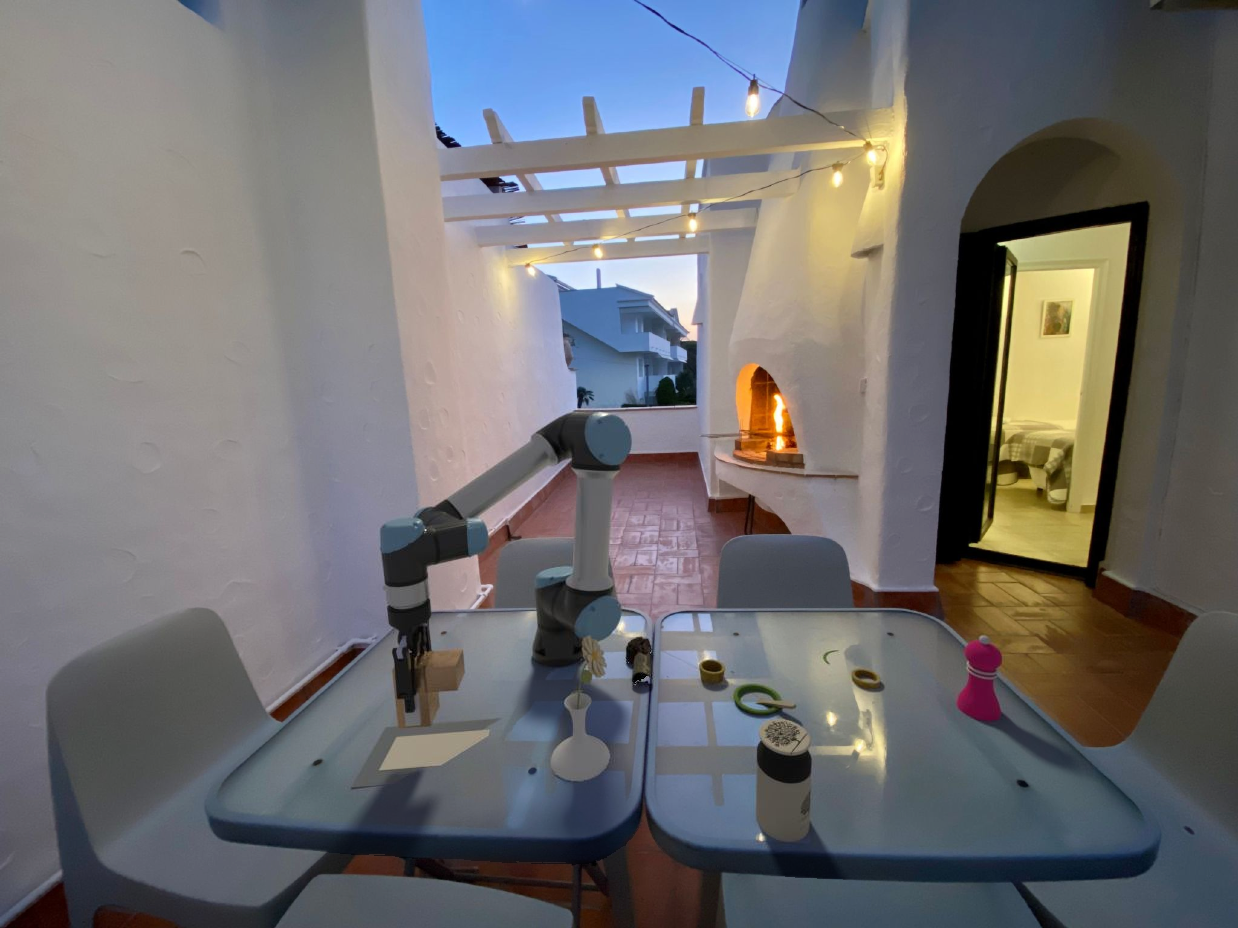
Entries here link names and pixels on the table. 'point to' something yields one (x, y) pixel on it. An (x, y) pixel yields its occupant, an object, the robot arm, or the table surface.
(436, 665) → the wooden l-shaped block
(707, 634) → the table surface
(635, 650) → the brown olive knobbed cylinder
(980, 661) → the pepper mill
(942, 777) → the table surface
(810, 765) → the travel mug
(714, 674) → the tableware set
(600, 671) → the flower in vase
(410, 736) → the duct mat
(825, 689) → the table surface
